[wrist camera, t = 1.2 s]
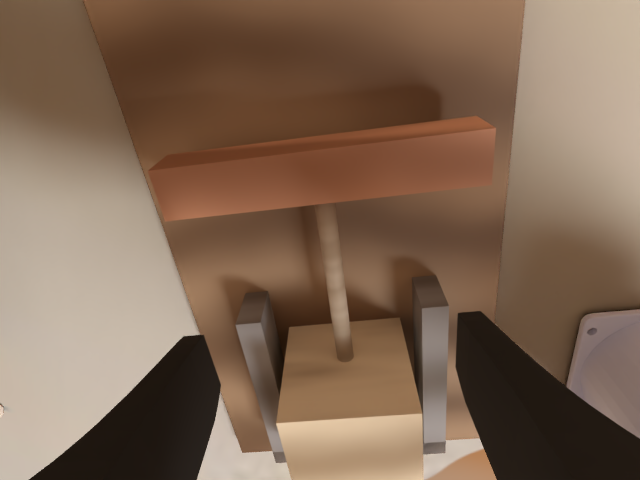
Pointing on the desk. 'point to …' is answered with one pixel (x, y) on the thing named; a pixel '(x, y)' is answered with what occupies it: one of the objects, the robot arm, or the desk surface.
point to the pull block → (337, 279)
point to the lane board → (352, 216)
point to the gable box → (1, 411)
